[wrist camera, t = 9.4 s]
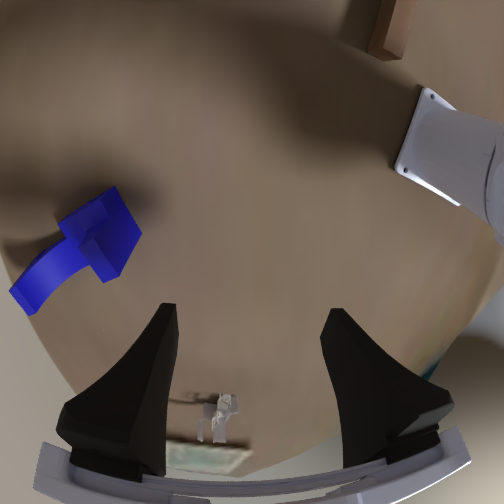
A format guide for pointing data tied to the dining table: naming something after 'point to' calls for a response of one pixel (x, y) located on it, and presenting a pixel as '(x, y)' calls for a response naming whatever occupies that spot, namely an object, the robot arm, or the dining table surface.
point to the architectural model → (218, 416)
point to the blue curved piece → (81, 249)
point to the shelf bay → (392, 29)
